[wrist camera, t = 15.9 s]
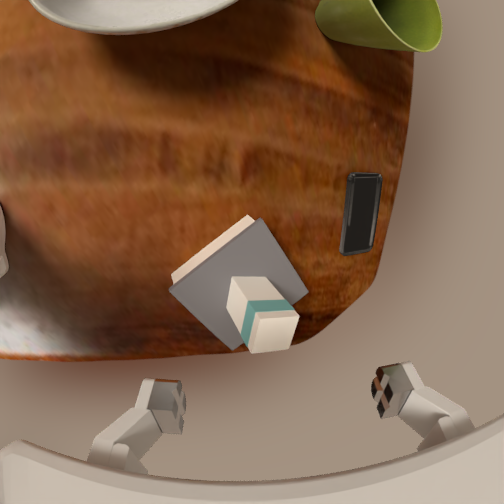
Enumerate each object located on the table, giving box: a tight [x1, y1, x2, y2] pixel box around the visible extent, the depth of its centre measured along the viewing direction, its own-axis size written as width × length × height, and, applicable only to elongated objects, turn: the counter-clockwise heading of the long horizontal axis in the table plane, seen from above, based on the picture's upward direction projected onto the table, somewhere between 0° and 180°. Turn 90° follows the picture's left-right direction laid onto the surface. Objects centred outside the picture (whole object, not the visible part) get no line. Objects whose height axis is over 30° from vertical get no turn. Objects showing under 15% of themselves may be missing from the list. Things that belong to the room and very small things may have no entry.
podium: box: [169, 215, 308, 351], centre depth 44 cm, size 15×15×5 cm
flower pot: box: [315, 0, 442, 52], centre depth 28 cm, size 15×15×16 cm
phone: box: [339, 172, 382, 256], centre depth 50 cm, size 8×1×15 cm
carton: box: [226, 276, 299, 354], centre depth 38 cm, size 5×5×10 cm
